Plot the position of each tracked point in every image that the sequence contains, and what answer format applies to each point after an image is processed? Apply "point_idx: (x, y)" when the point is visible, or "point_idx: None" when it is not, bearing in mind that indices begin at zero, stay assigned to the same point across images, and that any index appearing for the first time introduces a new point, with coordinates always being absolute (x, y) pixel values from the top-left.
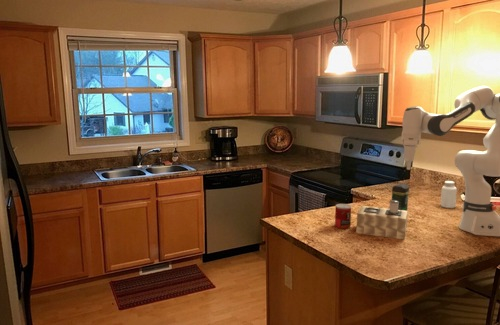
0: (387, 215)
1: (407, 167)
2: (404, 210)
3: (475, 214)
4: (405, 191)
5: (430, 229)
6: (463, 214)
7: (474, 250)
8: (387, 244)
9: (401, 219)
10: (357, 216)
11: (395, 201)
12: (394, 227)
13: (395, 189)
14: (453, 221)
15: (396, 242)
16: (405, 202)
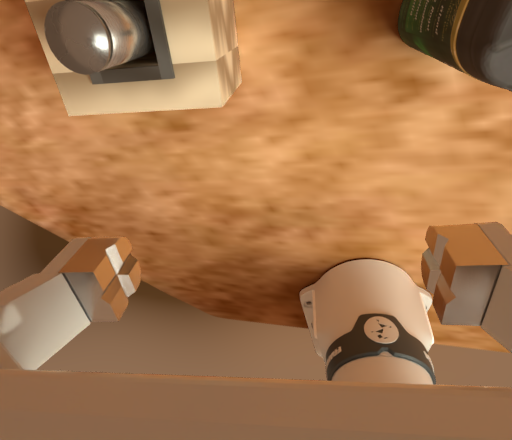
0: (51, 3)
1: (65, 263)
2: (218, 88)
3: (322, 341)
4: (475, 76)
5: (300, 174)
6: (362, 305)
7: (164, 278)
8: (21, 31)
9: (63, 92)
10: None
11: (75, 51)
12: None
13: None
14: None
15: None
16: (448, 64)
